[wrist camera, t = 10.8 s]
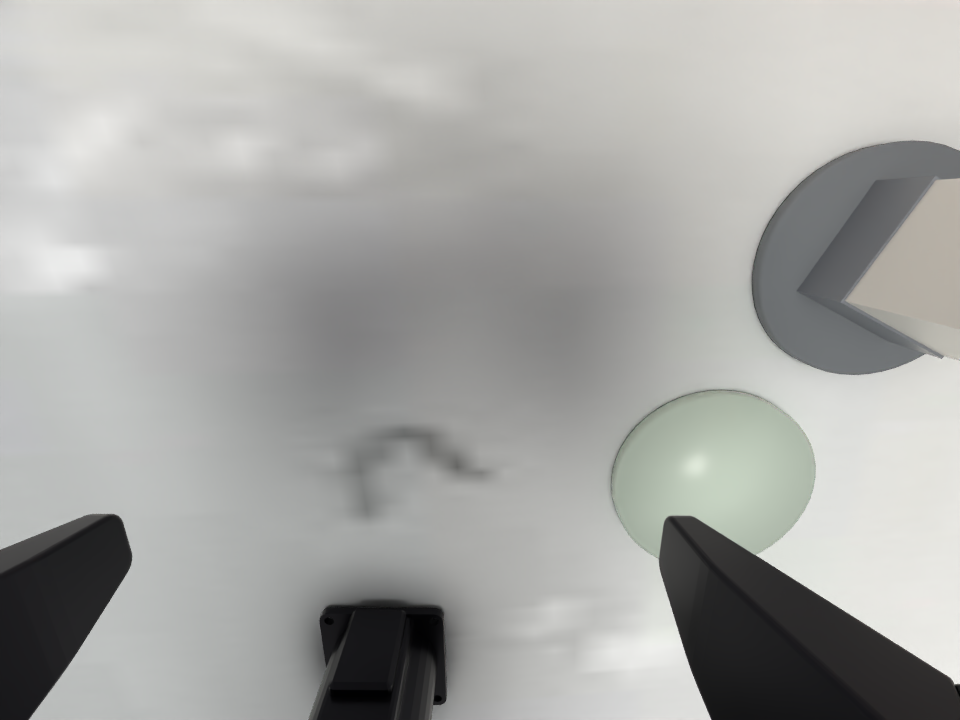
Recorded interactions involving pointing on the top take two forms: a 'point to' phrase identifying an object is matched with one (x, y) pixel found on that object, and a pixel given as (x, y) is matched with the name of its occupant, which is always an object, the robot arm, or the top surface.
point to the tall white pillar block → (898, 265)
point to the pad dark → (807, 235)
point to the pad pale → (714, 470)
